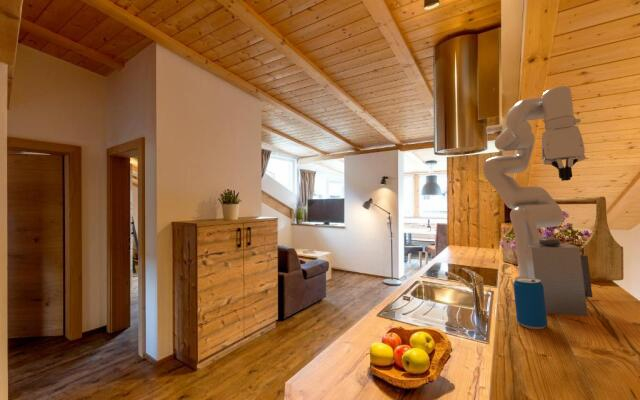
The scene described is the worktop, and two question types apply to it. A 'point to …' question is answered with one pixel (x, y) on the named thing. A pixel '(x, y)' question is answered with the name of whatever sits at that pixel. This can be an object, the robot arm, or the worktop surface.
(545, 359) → the worktop surface
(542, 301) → the beverage can
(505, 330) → the worktop surface
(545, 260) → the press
